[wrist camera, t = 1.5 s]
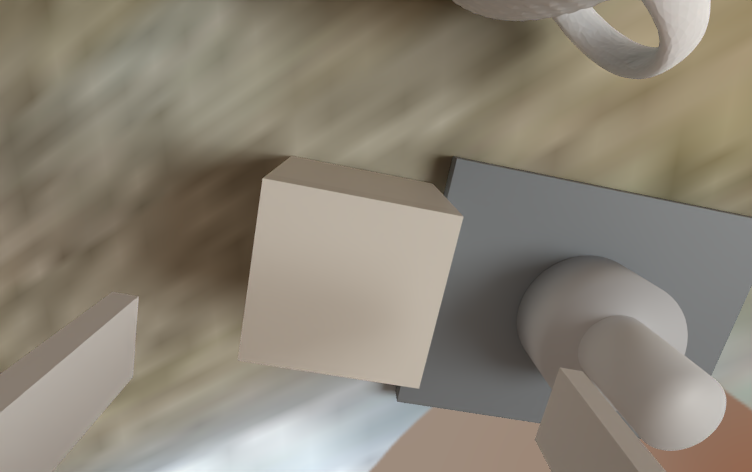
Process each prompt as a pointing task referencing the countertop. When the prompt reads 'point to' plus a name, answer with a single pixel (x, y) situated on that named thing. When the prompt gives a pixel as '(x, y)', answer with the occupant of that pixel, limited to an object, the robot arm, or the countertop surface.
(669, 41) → the mug
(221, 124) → the countertop surface
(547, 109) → the countertop surface
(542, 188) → the post base
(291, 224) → the cream cube block
